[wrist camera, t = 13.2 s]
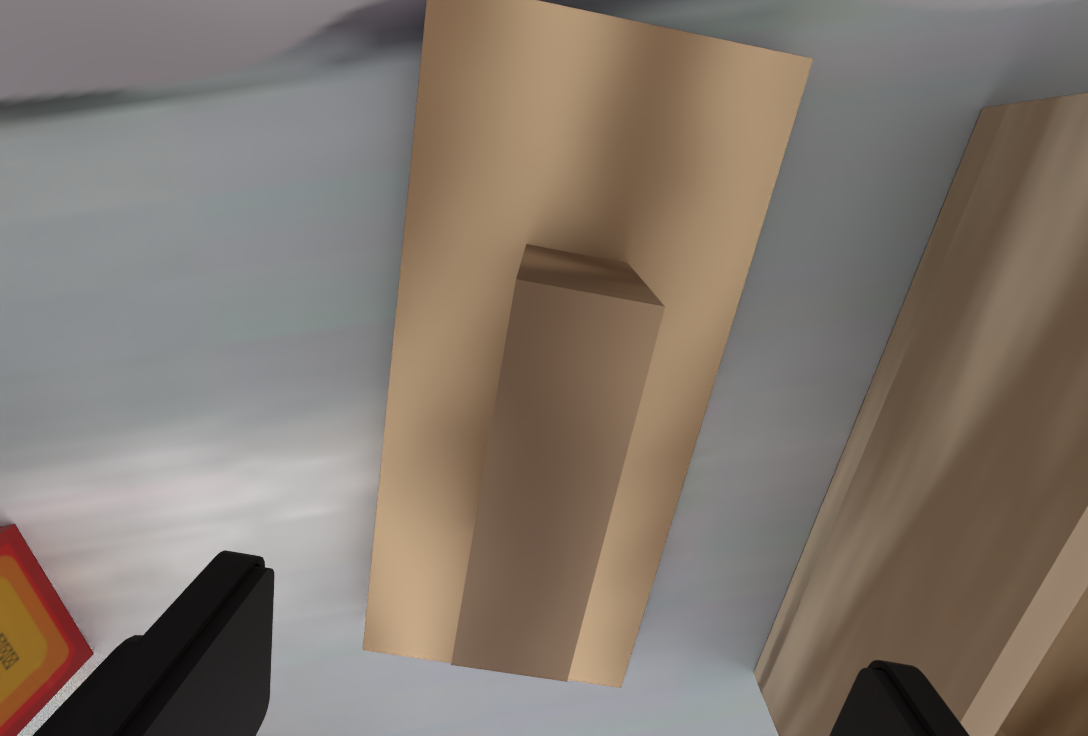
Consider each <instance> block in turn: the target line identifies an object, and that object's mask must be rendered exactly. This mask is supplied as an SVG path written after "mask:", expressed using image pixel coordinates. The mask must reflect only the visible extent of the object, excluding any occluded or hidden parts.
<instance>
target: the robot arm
mask: <svg viewBox="0 0 1088 736" xmlns="http://www.w3.org/2000/svg"><path fill="white" fill-rule="evenodd" d="M273 598H274V571H273V569H271V568H265V561H264V559H263V557H260V556H255V555H249V554H243V553H237V552H231V551H222V552H220V553H219V554H218V555H217V556H215V558H214V559H213V560H212V561H211V562H210V563H209V564H208V565H207V566H206V567H205V569H204V570H203V571H202V572H201V573H200V574H199V575H198V576H197V577H196V578H195V579H194V581H193V582H192V583H191V584H190V585H189V586H188V587H187V588H186V589H185V590H184V591H183V593H182V594H181V595H180V596H179V597H178V598H177V599H176V600H175V601H174V602H173V603H172V605H171V606H170V607H169V608H168V609H167V610H166V611H165V612H164V613H163V614H162V615H161V617H160V618H159V619H158V620H157V621H156V622H155V623H154V624H153V625H152V626H151V627H150V629H149V630H148V631H147V632H146V633H145V634H144V635H134V636H132V637H130V638H128V639H126V640H125V641H123V642H122V643H121V644H120V645H119V646H118V647H117V648H115V649H114V650H113V651H112V652H111V654H110V655H109V656H108V657H107V658H106V659H105V660H104V661H103V662H102V663H101V664H100V665H99V666H98V667H97V668H96V669H95V670H94V671H93V672H92V674H91V675H90V676H89V677H88V678H87V679H86V680H85V681H84V682H83V683H82V684H81V685H80V686H79V687H78V688H77V689H76V690H75V691H74V692H73V694H72V695H71V696H70V697H69V698H68V699H67V700H66V701H65V702H64V703H63V704H62V705H61V706H60V707H59V708H58V709H57V710H56V711H55V712H54V714H53V715H52V716H51V717H50V718H49V719H48V720H47V721H46V722H45V723H44V724H43V725H42V726H41V727H40V728H39V729H38V730H37V731H36V732H35V734H34V735H33V736H256V734H257V732H258V730H259V728H260V726H261V724H262V722H263V720H264V717H265V715H266V712H267V708H268V704H269V698H270V675H271V649H272V623H273ZM829 736H970V735H969V734H968V733H967V731H966V730H965V729H964V727H963V726H962V725H961V723H960V722H959V721H958V719H957V718H956V717H955V715H954V714H953V712H952V711H951V710H950V708H949V707H948V706H947V704H946V703H945V702H944V700H943V699H942V698H941V696H940V695H939V694H938V692H937V691H936V690H935V688H934V687H933V686H932V684H931V683H930V682H929V680H928V679H927V678H926V676H925V675H924V674H923V673H922V672H921V671H920V670H919V669H918V668H916V667H915V666H913V665H907V664H901V663H895V662H889V661H883V660H874V661H872V662H871V663H870V664H869V666H868V667H867V668H863V669H861V670H860V671H859V673H858V675H857V677H856V679H855V681H854V683H853V685H852V688H851V690H850V692H849V694H848V696H847V698H846V701H845V703H844V705H843V707H842V709H841V711H840V713H839V716H838V718H837V720H836V722H835V724H834V726H833V728H832V731H831V733H830V735H829Z"/></svg>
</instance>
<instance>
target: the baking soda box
mask: <svg viewBox="0 0 1088 736" xmlns="http://www.w3.org/2000/svg"><path fill="white" fill-rule="evenodd" d="M92 655H93V652H92V650H91V649H90V647H89V645H88V644H87V642H86V640H85V639H84V637H83V635H82V634H81V632H80V630H79V629H78V627H77V626H76V624H75V622H74V621H73V619H72V617H71V616H70V614H69V612H68V611H67V609H66V607H65V606H64V604H63V603H62V601H61V599H60V598H59V596H58V594H57V593H56V591H55V589H54V588H53V586H52V584H51V583H50V581H49V579H48V578H47V576H46V575H45V573H44V571H43V570H42V568H41V566H40V565H39V563H38V561H37V560H36V558H35V556H34V555H33V553H32V552H31V550H30V548H29V547H28V545H27V543H26V542H25V540H24V538H23V537H22V535H21V533H20V532H19V530H18V528H17V527H16V525H15V524H12V525H7V526H1V527H0V736H17V735H18V734H19V733H20V731H21V730H22V729H23V728H24V727H25V726H26V725H27V724H28V723H29V722H30V721H31V720H32V719H33V718H34V717H35V716H36V714H37V713H38V712H39V711H40V710H41V709H42V708H43V707H44V706H45V705H46V704H47V703H48V702H49V701H50V700H51V699H52V697H53V696H54V695H55V694H56V693H57V692H58V691H59V690H60V689H61V688H62V687H63V686H64V685H65V684H66V683H67V682H68V680H69V679H70V678H71V677H72V676H73V675H74V674H75V673H76V672H77V671H78V670H79V669H80V668H81V667H82V666H83V664H84V663H85V662H86V661H87V660H88V659H89V658H90V657H91V656H92Z"/></svg>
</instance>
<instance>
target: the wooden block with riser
mask: <svg viewBox="0 0 1088 736" xmlns="http://www.w3.org/2000/svg"><path fill="white" fill-rule="evenodd" d="M812 62H813V59H812V58H807V57H803V56H798V55H793V54H788V53H784V52H779V51H774V50H770V49H765V48H760V47H755V46H751V45H746V44H741V43H737V42H732V41H727V40H722V39H718V38H713V37H708V36H704V35H699V34H694V33H689V32H685V31H680V30H675V29H670V28H666V27H661V26H656V25H652V24H647V23H642V22H637V21H633V20H628V19H623V18H619V17H614V16H609V15H604V14H600V13H595V12H590V11H585V10H581V9H576V8H571V7H567V6H562V5H557V4H552V3H548V2H543V1H538V0H427V4H426V14H425V24H424V34H423V44H422V54H421V65H420V75H419V85H418V95H417V105H416V115H415V125H414V135H413V146H412V156H411V166H410V176H409V186H408V196H407V206H406V216H405V227H404V237H403V247H402V257H401V267H400V277H399V287H398V297H397V308H396V318H395V328H394V338H393V348H392V358H391V368H390V378H389V388H388V399H387V409H386V419H385V429H384V439H383V449H382V459H381V469H380V480H379V490H378V500H377V510H376V520H375V530H374V540H373V550H372V560H371V571H370V581H369V591H368V601H367V611H366V621H365V631H364V641H363V650H366V651H372V652H379V653H386V654H393V655H400V656H407V657H413V658H420V659H427V660H434V661H441V662H448V663H451V665H456V666H463V667H470V668H477V669H484V670H490V671H497V672H504V673H511V674H518V675H525V676H532V677H538V678H545V679H552V680H559V681H566V682H567V680H571V681H578V682H584V683H591V684H598V685H605V686H612V687H619V688H621V686H622V683H623V680H624V676H625V673H626V670H627V667H628V663H629V660H630V657H631V654H632V650H633V647H634V644H635V640H636V637H637V634H638V631H639V627H640V624H641V621H642V618H643V614H644V611H645V608H646V604H647V601H648V598H649V595H650V591H651V588H652V585H653V582H654V578H655V575H656V572H657V568H658V565H659V562H660V559H661V555H662V552H663V549H664V546H665V542H666V539H667V536H668V533H669V529H670V526H671V523H672V519H673V516H674V513H675V510H676V506H677V503H678V500H679V497H680V493H681V490H682V487H683V483H684V480H685V477H686V474H687V470H688V467H689V464H690V461H691V457H692V454H693V451H694V448H695V444H696V441H697V438H698V434H699V431H700V428H701V425H702V421H703V418H704V415H705V412H706V408H707V405H708V402H709V398H710V395H711V392H712V389H713V385H714V382H715V379H716V376H717V372H718V369H719V366H720V362H721V359H722V356H723V353H724V349H725V346H726V343H727V340H728V336H729V333H730V330H731V327H732V323H733V320H734V317H735V313H736V310H737V307H738V304H739V300H740V297H741V294H742V291H743V287H744V284H745V281H746V277H747V274H748V271H749V268H750V264H751V261H752V258H753V255H754V251H755V248H756V245H757V241H758V238H759V235H760V232H761V228H762V225H763V222H764V219H765V215H766V212H767V209H768V206H769V202H770V199H771V196H772V192H773V189H774V186H775V183H776V179H777V176H778V173H779V170H780V166H781V163H782V160H783V156H784V153H785V150H786V147H787V143H788V140H789V137H790V134H791V130H792V127H793V124H794V121H795V117H796V114H797V111H798V107H799V104H800V101H801V98H802V94H803V91H804V88H805V85H806V81H807V78H808V75H809V71H810V68H811V65H812Z"/></svg>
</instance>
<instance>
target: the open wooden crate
mask: <svg viewBox="0 0 1088 736" xmlns="http://www.w3.org/2000/svg"><path fill="white" fill-rule="evenodd" d="M874 660H883V661H889V662H895V663H901V664H907V665H913V666H915V667H916V668H918V669H919V670H920V671H921V672H922V673H923V674H924V675H925V676H926V678H927V679H928V680H929V682H930V683H931V684H932V686H933V687H934V688H935V690H936V691H937V692H938V694H939V695H940V696H941V698H942V699H943V700H944V702H945V703H946V704H947V706H948V707H949V708H950V710H951V711H952V712H953V714H954V715H955V717H956V718H957V719H958V721H959V722H960V723H961V725H962V726H963V727H964V729H965V730H966V731H967V733H968V734H969V735H970V736H1088V93H1081V94H1074V95H1067V96H1060V97H1053V98H1046V99H1039V100H1032V101H1025V102H1018V103H1011V104H1004V105H997V106H990V107H984V108H982V111H981V113H980V116H979V118H978V121H977V123H976V125H975V128H974V130H973V133H972V135H971V138H970V140H969V143H968V145H967V148H966V150H965V153H964V155H963V158H962V160H961V163H960V165H959V167H958V170H957V172H956V175H955V177H954V180H953V182H952V185H951V187H950V190H949V192H948V195H947V197H946V200H945V202H944V205H943V207H942V209H941V212H940V214H939V217H938V219H937V222H936V224H935V227H934V229H933V232H932V234H931V237H930V239H929V242H928V244H927V247H926V249H925V251H924V254H923V256H922V259H921V261H920V264H919V266H918V269H917V271H916V274H915V276H914V279H913V281H912V284H911V286H910V288H909V291H908V293H907V296H906V298H905V301H904V303H903V306H902V308H901V311H900V313H899V316H898V318H897V321H896V323H895V326H894V328H893V330H892V333H891V335H890V338H889V340H888V343H887V345H886V348H885V350H884V353H883V355H882V358H881V360H880V363H879V365H878V368H877V370H876V372H875V375H874V377H873V380H872V382H871V385H870V387H869V390H868V392H867V395H866V397H865V400H864V402H863V405H862V407H861V410H860V412H859V414H858V417H857V419H856V422H855V424H854V427H853V429H852V432H851V434H850V437H849V439H848V442H847V444H846V447H845V449H844V451H843V454H842V456H841V459H840V461H839V464H838V466H837V469H836V471H835V474H834V476H833V479H832V481H831V484H830V486H829V489H828V491H827V493H826V496H825V498H824V501H823V503H822V506H821V508H820V511H819V513H818V516H817V518H816V521H815V523H814V526H813V528H812V531H811V533H810V535H809V538H808V540H807V543H806V545H805V548H804V550H803V553H802V555H801V558H800V560H799V563H798V565H797V568H796V570H795V573H794V575H793V577H792V580H791V582H790V585H789V587H788V590H787V592H786V595H785V597H784V600H783V602H782V605H781V607H780V610H779V612H778V614H777V617H776V619H775V622H774V624H773V627H772V629H771V632H770V634H769V637H768V639H767V642H766V644H765V647H764V649H763V652H762V654H761V656H760V659H759V661H758V664H757V666H756V669H755V671H754V676H755V678H756V680H757V683H758V685H759V688H760V690H761V693H762V695H763V698H764V700H765V703H766V705H767V708H768V710H769V712H770V715H771V717H772V720H773V722H774V725H775V727H776V730H777V732H778V735H779V736H829V735H830V733H831V731H832V728H833V726H834V724H835V722H836V720H837V718H838V716H839V713H840V711H841V709H842V707H843V705H844V703H845V701H846V698H847V696H848V694H849V692H850V690H851V688H852V685H853V683H854V681H855V679H856V677H857V675H858V673H859V671H860V670H861V669H863V668H867V667H868V666H869V664H870V663H871V662H872V661H874Z"/></svg>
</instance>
